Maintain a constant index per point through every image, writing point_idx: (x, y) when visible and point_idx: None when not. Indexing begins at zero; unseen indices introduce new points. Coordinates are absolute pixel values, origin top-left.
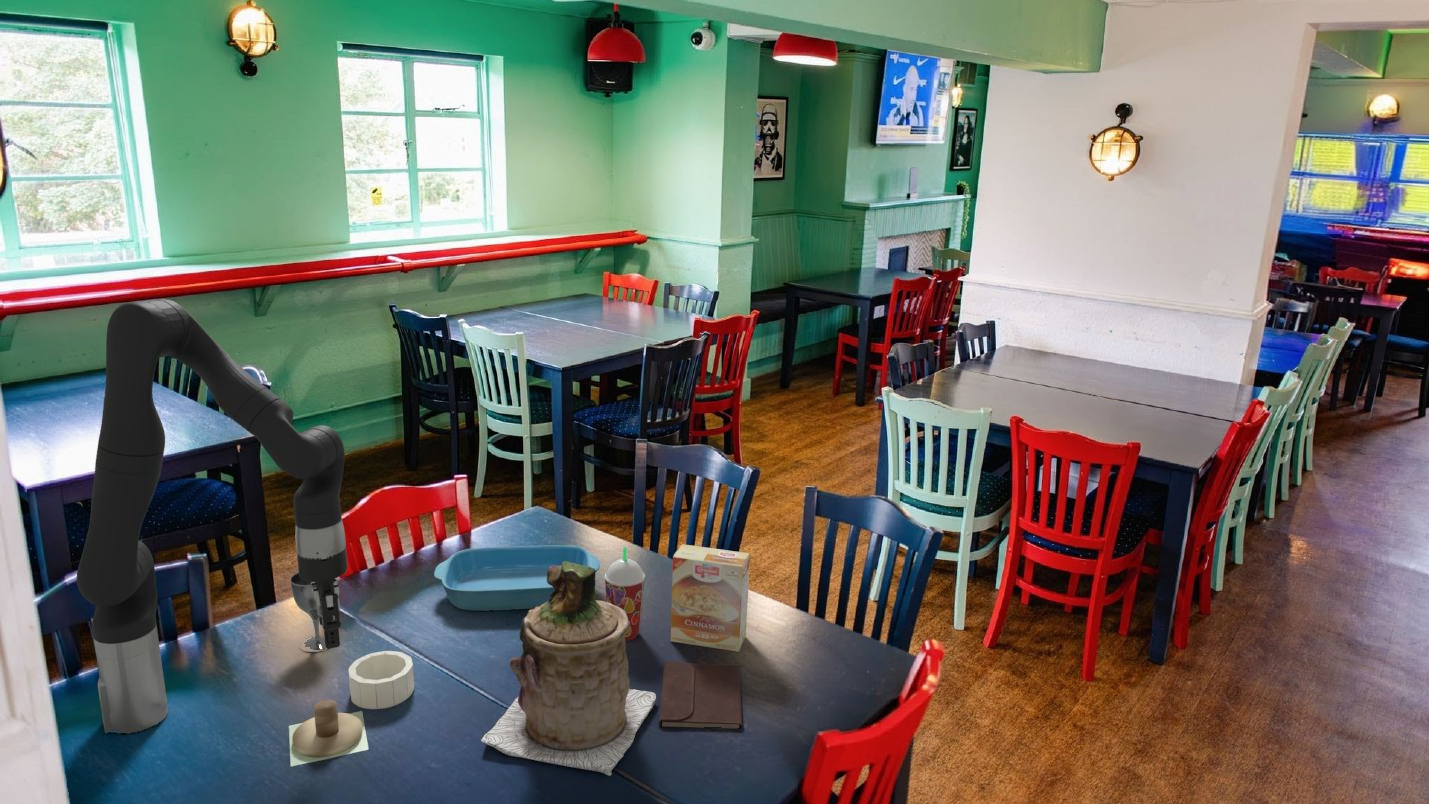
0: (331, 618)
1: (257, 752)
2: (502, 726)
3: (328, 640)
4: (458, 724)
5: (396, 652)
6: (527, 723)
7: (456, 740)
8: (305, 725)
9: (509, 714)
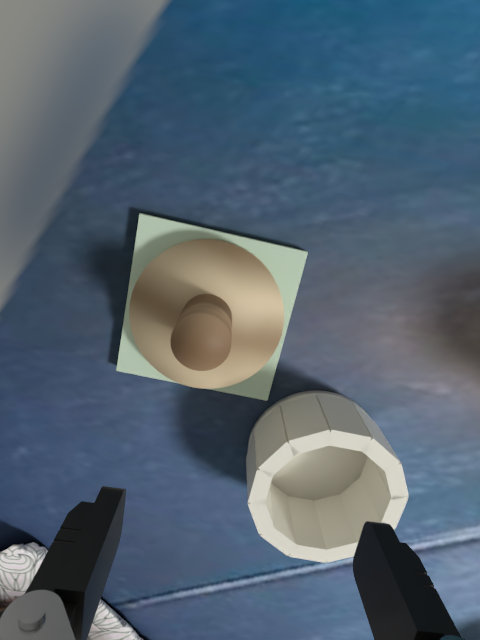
0: (361, 587)
1: (258, 163)
2: None
3: (55, 537)
4: (128, 524)
5: None
6: None
7: None
8: (260, 282)
9: None
